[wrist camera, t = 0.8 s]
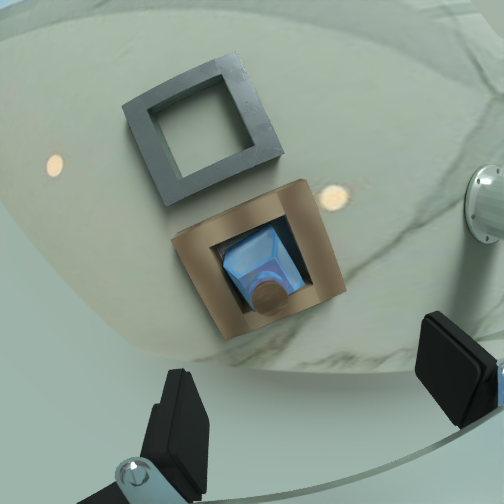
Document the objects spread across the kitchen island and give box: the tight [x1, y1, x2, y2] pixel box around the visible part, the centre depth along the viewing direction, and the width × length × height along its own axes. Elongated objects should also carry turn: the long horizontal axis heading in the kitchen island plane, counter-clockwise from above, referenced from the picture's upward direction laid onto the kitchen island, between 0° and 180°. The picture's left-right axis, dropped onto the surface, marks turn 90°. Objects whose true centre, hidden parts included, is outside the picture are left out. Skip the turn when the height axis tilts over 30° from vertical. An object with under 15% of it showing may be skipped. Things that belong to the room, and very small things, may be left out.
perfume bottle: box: [223, 224, 305, 316], centre depth 31 cm, size 6×6×12 cm
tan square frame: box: [171, 179, 347, 341], centre depth 35 cm, size 16×14×4 cm
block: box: [122, 51, 285, 207], centre depth 31 cm, size 14×13×3 cm
